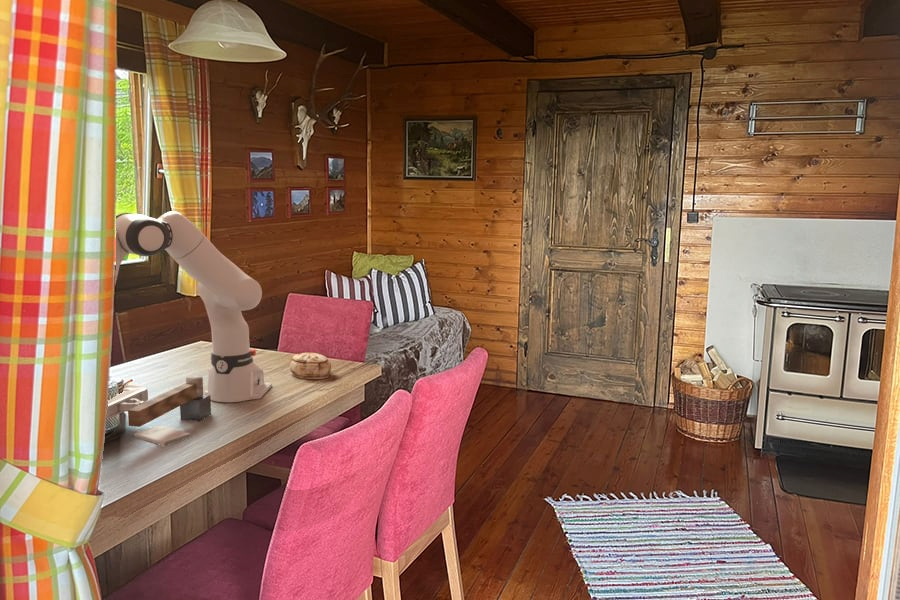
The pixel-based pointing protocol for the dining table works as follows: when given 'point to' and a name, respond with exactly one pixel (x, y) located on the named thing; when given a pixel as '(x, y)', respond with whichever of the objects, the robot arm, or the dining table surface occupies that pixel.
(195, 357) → the dining table surface
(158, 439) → the external hard drive
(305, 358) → the trinket box
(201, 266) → the robot arm
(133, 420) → the walnut swing arm
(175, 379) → the dining table surface
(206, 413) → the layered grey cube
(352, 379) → the dining table surface
